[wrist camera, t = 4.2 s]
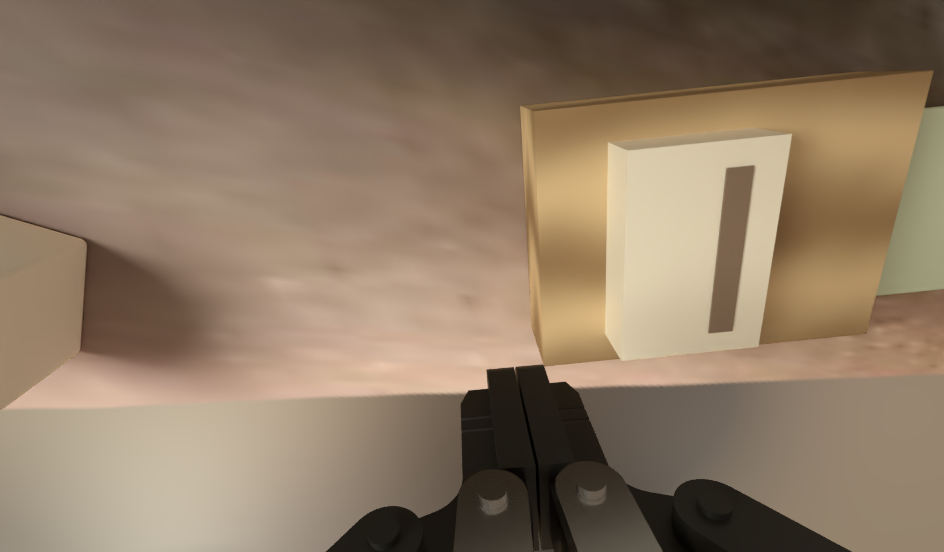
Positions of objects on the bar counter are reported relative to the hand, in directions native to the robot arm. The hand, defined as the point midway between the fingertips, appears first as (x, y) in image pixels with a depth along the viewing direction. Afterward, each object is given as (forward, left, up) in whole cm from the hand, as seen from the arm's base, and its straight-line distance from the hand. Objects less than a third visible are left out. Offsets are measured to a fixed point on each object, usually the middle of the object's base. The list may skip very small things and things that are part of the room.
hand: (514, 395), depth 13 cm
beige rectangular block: (0, +8, -10) cm, 13 cm away
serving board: (0, +10, -14) cm, 17 cm away
